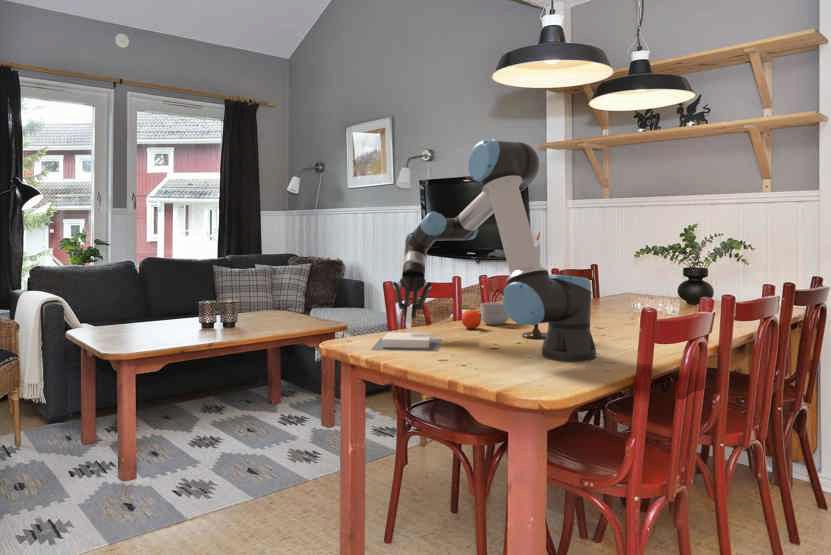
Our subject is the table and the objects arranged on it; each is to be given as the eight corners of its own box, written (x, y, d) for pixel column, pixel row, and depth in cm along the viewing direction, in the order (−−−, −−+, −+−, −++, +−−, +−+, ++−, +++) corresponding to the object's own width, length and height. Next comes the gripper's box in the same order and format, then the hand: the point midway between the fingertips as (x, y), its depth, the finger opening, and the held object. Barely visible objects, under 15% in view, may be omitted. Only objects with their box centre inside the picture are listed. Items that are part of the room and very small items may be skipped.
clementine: (457, 329, 233) (457, 310, 232) (460, 326, 239) (460, 307, 239) (479, 330, 231) (479, 310, 230) (482, 327, 237) (482, 308, 237)
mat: (380, 339, 214) (380, 337, 214) (442, 340, 212) (442, 338, 212) (370, 351, 194) (370, 349, 194) (437, 353, 192) (437, 351, 192)
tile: (387, 332, 208) (381, 339, 196) (431, 333, 207) (428, 340, 195) (387, 340, 209) (381, 348, 197) (431, 341, 207) (428, 349, 195)
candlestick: (550, 334, 223) (552, 231, 220) (554, 340, 213) (556, 231, 210) (518, 333, 224) (519, 231, 221) (520, 339, 214) (521, 231, 211)
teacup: (485, 326, 239) (485, 305, 239) (476, 322, 250) (476, 301, 249) (521, 325, 242) (521, 304, 241) (511, 321, 253) (511, 300, 252)
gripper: (434, 275, 222) (430, 333, 207) (395, 275, 223) (389, 332, 208) (432, 261, 216) (428, 318, 201) (393, 260, 217) (386, 318, 202)
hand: (408, 325), depth 204 cm, fingers closed
